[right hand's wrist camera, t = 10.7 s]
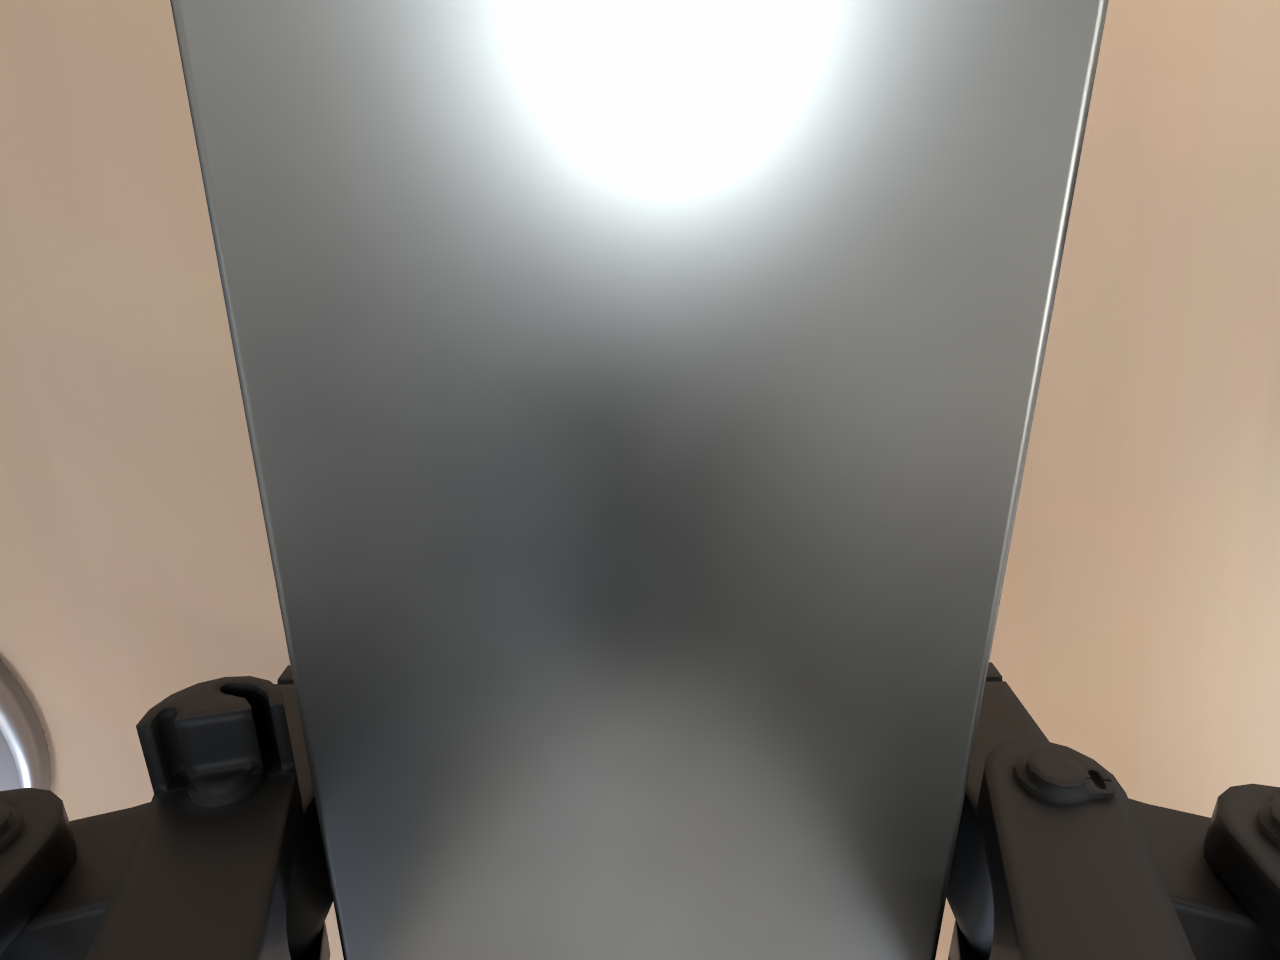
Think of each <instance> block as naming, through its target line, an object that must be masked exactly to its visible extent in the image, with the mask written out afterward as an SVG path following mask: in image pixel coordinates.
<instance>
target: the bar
mask: <svg viewBox="0 0 1280 960" xmlns="http://www.w3.org/2000/svg"><path fill="white" fill-rule="evenodd" d="M170 1H171V6H172V12H173V17H174V23H175V28H176V34H177V39H178V45H179V51H180V56H181V62H182V67H183V73H184V78H185V84H186V89H187V95H188V100H189V106H190V111H191V117H192V122H193V128H194V133H195V139H196V144H197V150H198V156H199V161H200V167H201V172H202V178H203V183H204V189H205V194H206V200H207V205H208V211H209V216H210V222H211V227H212V233H213V238H214V244H215V249H216V255H217V261H218V266H219V272H220V277H221V283H222V288H223V294H224V299H225V305H226V310H227V316H228V321H229V327H230V332H231V338H232V343H233V349H234V354H235V360H236V366H237V371H238V377H239V382H240V388H241V393H242V399H243V404H244V410H245V415H246V421H247V426H248V432H249V437H250V443H251V448H252V454H253V459H254V465H255V471H256V476H257V482H258V487H259V493H260V498H261V504H262V509H263V515H264V520H265V526H266V531H267V537H268V542H269V548H270V553H271V559H272V564H273V570H274V576H275V581H276V587H277V592H278V598H279V603H280V609H281V614H282V620H283V625H284V631H285V636H286V642H287V647H288V653H289V658H290V664H291V669H292V675H293V680H294V686H295V692H296V697H297V703H298V708H299V714H300V719H301V725H302V730H303V736H304V741H305V747H306V752H307V758H308V763H309V769H310V774H311V780H312V785H313V791H314V797H315V802H316V808H317V813H318V819H319V824H320V830H321V835H322V841H323V846H324V852H325V857H326V863H327V868H328V874H329V879H330V885H331V890H332V896H333V902H334V907H335V913H336V918H337V924H338V929H339V935H340V940H341V946H342V951H343V957H344V960H935V957H936V951H937V946H938V940H939V934H940V929H941V923H942V918H943V912H944V907H945V901H946V896H947V890H948V885H949V879H950V874H951V868H952V863H953V857H954V852H955V846H956V840H957V835H958V829H959V824H960V818H961V813H962V807H963V802H964V796H965V791H966V785H967V780H968V774H969V769H970V763H971V758H972V752H973V746H974V741H975V735H976V730H977V724H978V719H979V713H980V708H981V702H982V697H983V691H984V686H985V680H986V675H987V669H988V664H989V658H990V653H991V647H992V641H993V636H994V630H995V625H996V619H997V614H998V608H999V603H1000V597H1001V592H1002V586H1003V581H1004V575H1005V570H1006V564H1007V559H1008V553H1009V547H1010V542H1011V536H1012V531H1013V525H1014V520H1015V514H1016V509H1017V503H1018V498H1019V492H1020V487H1021V481H1022V476H1023V470H1024V465H1025V459H1026V454H1027V448H1028V442H1029V437H1030V431H1031V426H1032V420H1033V415H1034V409H1035V404H1036V398H1037V393H1038V387H1039V382H1040V376H1041V371H1042V365H1043V360H1044V354H1045V348H1046V343H1047V337H1048V332H1049V326H1050V321H1051V315H1052V310H1053V304H1054V299H1055V293H1056V288H1057V282H1058V277H1059V271H1060V266H1061V260H1062V255H1063V249H1064V243H1065V238H1066V232H1067V227H1068V221H1069V216H1070V210H1071V205H1072V199H1073V194H1074V188H1075V183H1076V177H1077V172H1078V166H1079V161H1080V155H1081V149H1082V144H1083V138H1084V133H1085V127H1086V122H1087V116H1088V111H1089V105H1090V100H1091V94H1092V89H1093V83H1094V78H1095V72H1096V67H1097V61H1098V56H1099V50H1100V44H1101V39H1102V33H1103V28H1104V22H1105V17H1106V11H1107V6H1108V0H170Z"/></svg>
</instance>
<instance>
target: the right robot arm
mask: <svg viewBox="0 0 1280 960" xmlns="http://www.w3.org/2000/svg"><path fill="white" fill-rule="evenodd" d="M136 728H137V732H138V735H139V739H140V743H141V746H142V750H143V754H144V758H145V761H146V765H147V769H148V772H149V776H150V780H151V783H152V787H153V791H154V796H153V798H152V801H151V802H149V803H146V804H143V805H139V806H136V807H132V808H128V809H123V810H119V811H114V812H110V813H105V814H101V815H96V816H92V817H87V818H83V819H78V820H74V821H69V820H68V817H67V814H66V811H65V808H64V805H63V802H62V800H61V799H60V798H58V797H57V796H56V795H55V794H54V793H52V792H51V791H50V781H51V769H50V758H49V752H48V746H47V743H46V739H45V736H44V732H43V730H42V727H41V725H40V722H39V720H38V717H37V715H36V713H35V711H34V709H33V707H32V705H31V703H30V701H29V700H28V698H27V696H26V695H25V693H24V692H23V690H22V689H21V687H20V685H19V684H18V682H17V681H16V680H15V678H14V677H13V676H12V675H11V673H10V672H9V671H8V669H7V668H6V667H5V666H4V665H3V663H2V662H1V661H0V960H330V950H329V942H328V936H327V930H326V925H325V919H326V917H327V914H328V912H329V909H330V907H331V905H332V902H333V896H332V890H331V885H330V879H329V874H328V868H327V863H326V857H325V852H324V846H323V841H322V835H321V830H320V824H319V819H318V813H317V808H316V802H315V797H314V791H313V785H312V780H311V774H310V769H309V763H308V758H307V752H306V747H305V741H304V736H303V730H302V725H301V719H300V714H299V708H298V703H297V697H296V692H295V686H294V680H293V675H292V669H291V665H288V666H287V668H286V669H285V670H284V672H283V673H282V675H281V676H280V677H279V679H278V684H273V683H272V682H270V681H268V680H264V679H260V678H255V677H251V676H243V677H224V678H219V679H215V680H211V681H206V682H202V683H198V684H195V685H193V686H191V687H188V688H186V689H184V690H181V691H179V692H177V693H174V694H172V695H170V696H169V697H167V698H166V699H164V700H163V701H161V702H160V703H158V704H157V705H155V706H154V707H153V708H151V709H150V710H149V711H148V712H147V713H146V714H145V716H144V717H143V718H142V719H141V721H140V722H139V723H138V724H137V725H136ZM946 897H947V900H948V902H949V904H950V907H951V909H952V911H953V914H954V916H955V918H956V920H955V925H954V930H953V936H952V941H951V946H950V951H949V957H948V960H1280V787H1272V786H1265V785H1258V784H1247V785H1241V786H1234V787H1230V788H1229V789H1227V790H1226V791H1225V792H1224V793H1222V794H1221V795H1220V796H1219V797H1218V799H1217V802H1216V805H1215V809H1214V812H1213V815H1212V818H1209V817H1204V816H1199V815H1195V814H1190V813H1186V812H1181V811H1177V810H1172V809H1168V808H1163V807H1158V806H1154V805H1149V804H1146V803H1142V802H1139V801H1135V800H1132V799H1128V797H1127V795H1126V793H1125V791H1124V790H1123V788H1122V787H1121V786H1120V784H1119V783H1118V781H1117V780H1116V778H1115V777H1114V776H1113V775H1112V774H1111V773H1110V772H1109V771H1107V770H1106V769H1105V768H1103V767H1102V766H1101V765H1100V764H1098V763H1097V762H1096V761H1094V760H1093V759H1091V758H1089V757H1087V756H1085V755H1083V754H1081V753H1079V752H1077V751H1075V750H1073V749H1071V748H1069V747H1066V746H1062V745H1058V744H1054V743H1051V742H1049V741H1048V739H1047V738H1046V736H1045V735H1044V734H1043V732H1042V731H1041V730H1040V728H1039V727H1038V725H1037V724H1036V723H1035V721H1034V720H1033V719H1032V717H1031V716H1030V714H1029V713H1028V712H1027V710H1026V709H1025V708H1024V706H1023V705H1022V703H1021V702H1020V701H1019V699H1018V698H1017V697H1016V695H1015V694H1014V692H1013V691H1012V690H1011V688H1010V687H1009V686H1008V684H1007V683H1006V682H1003V681H1002V676H1001V675H1000V673H999V672H998V670H997V669H996V668H995V666H994V665H993V664H992V663H989V664H988V669H987V675H986V680H985V686H984V691H983V697H982V702H981V708H980V713H979V719H978V724H977V730H976V735H975V741H974V746H973V752H972V758H971V763H970V769H969V774H968V780H967V785H966V791H965V796H964V802H963V807H962V813H961V818H960V824H959V829H958V835H957V840H956V846H955V852H954V857H953V863H952V868H951V874H950V879H949V885H948V890H947V896H946Z"/></svg>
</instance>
